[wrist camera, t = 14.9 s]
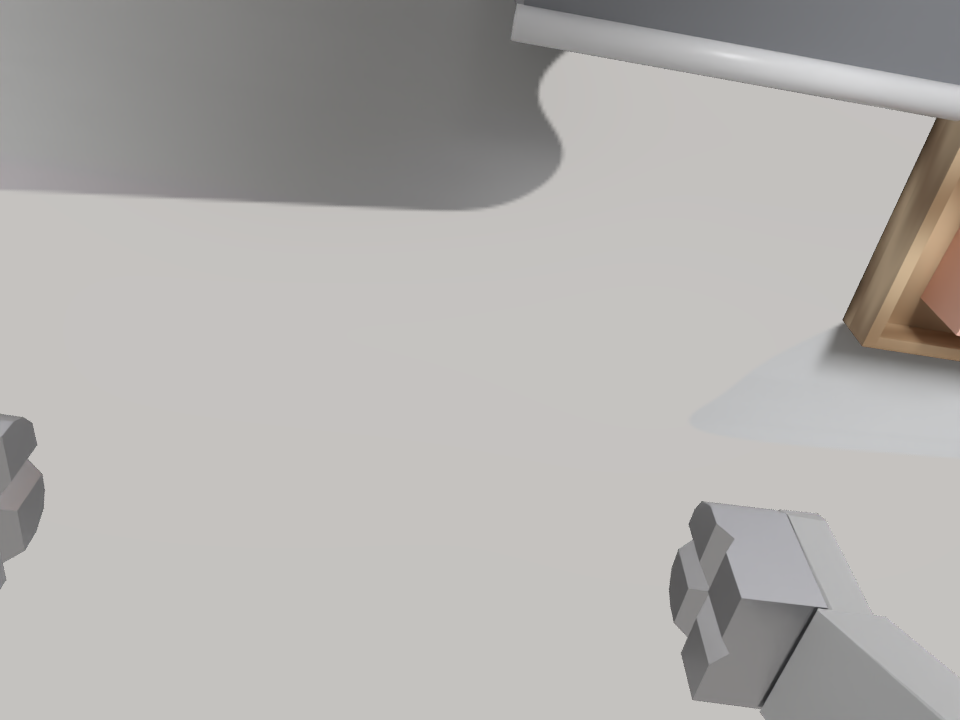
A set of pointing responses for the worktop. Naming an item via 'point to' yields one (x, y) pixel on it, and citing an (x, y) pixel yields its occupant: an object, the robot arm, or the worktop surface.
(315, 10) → the worktop surface
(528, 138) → the worktop surface
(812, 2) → the dispenser
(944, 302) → the pink rectangular block
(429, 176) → the worktop surface
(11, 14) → the worktop surface
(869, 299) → the tray
